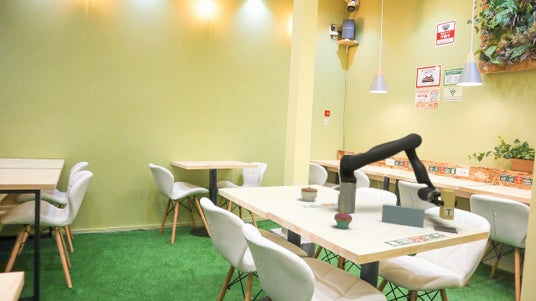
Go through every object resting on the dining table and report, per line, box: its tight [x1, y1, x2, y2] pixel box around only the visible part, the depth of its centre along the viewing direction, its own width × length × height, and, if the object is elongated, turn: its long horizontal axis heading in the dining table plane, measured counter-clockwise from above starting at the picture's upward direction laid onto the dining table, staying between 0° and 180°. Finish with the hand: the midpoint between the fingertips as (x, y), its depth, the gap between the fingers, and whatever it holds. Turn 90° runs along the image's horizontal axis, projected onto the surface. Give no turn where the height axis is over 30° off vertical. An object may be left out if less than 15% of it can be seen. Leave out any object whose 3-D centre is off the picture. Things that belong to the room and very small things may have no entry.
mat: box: [433, 224, 458, 234], centre depth 175 cm, size 10×10×1 cm
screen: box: [381, 204, 426, 229], centre depth 181 cm, size 20×2×9 cm, turn 67°
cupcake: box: [333, 203, 353, 230], centre depth 168 cm, size 9×8×12 cm
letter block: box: [438, 189, 457, 221], centre depth 174 cm, size 5×5×14 cm
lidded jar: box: [300, 186, 318, 203], centre depth 232 cm, size 11×11×9 cm
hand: (449, 204), depth 172 cm, fingers closed on letter block, 5 cm apart
